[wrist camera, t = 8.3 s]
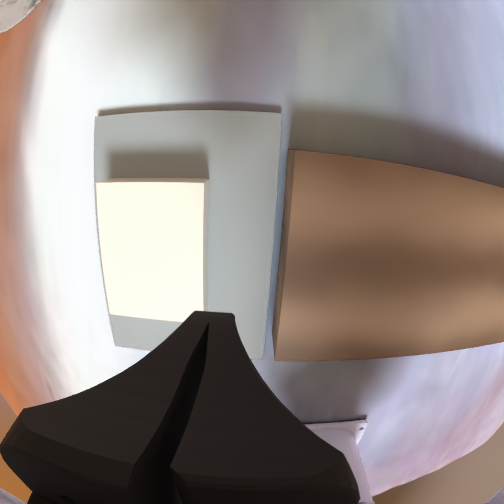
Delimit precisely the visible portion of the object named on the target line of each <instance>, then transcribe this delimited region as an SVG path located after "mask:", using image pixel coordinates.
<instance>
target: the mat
mask: <svg viewBox="0 0 504 504" xmlns="http://www.w3.org/2000/svg"><path fill="white" fill-rule="evenodd" d="M281 126H282V113H271V112H256V111H232V110H177V111H154V112H138V113H126V114H115V115H106V116H98V117H95V129H94V186H95V207H96V222H97V234H98V244H99V253H100V262H101V269H102V277H103V284H104V290H105V296H106V302H107V308H108V313H109V319H110V324H111V329H112V334H113V338H114V343H115V346H119V347H126V348H133V349H140V350H148V351H152V350H153V349H155V348H156V347H157V346H158V345H160V344H161V343H162V342H163V341H164V340H165V339H166V338H167V337H168V336H169V335H170V334H171V333H173V332H174V331H175V330H176V329H177V328H178V327H179V326H180V325H181V324H182V323H183V322H177V321H166V320H156V319H147V318H138V317H129V316H121V315H113V314H110V312H109V306H108V300H107V294H106V288H105V281H104V273H103V266H102V257H101V248H100V238H99V226H98V212H97V193H96V183H97V182H101V181H104V180H108V179H111V178H202V179H210V181H209V218H208V309H207V311H210V312H226V313H233V314H234V315H235V322H236V326H237V330H238V333H239V336H240V338H241V341H242V343H243V345H244V347H245V350H246V352H247V354H248V356H249V358H250V359H258V360H263V354H264V343H265V333H266V322H267V311H268V300H269V289H270V277H271V265H272V253H273V241H274V228H275V215H276V201H277V187H278V173H279V158H280V142H281Z"/></svg>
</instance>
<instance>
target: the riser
mask: <svg viewBox="0 0 504 504" xmlns="http://www.w3.org/2000/svg"><path fill="white" fill-rule="evenodd" d="M272 337H273V347H274V357H275V361H335V360H360V359H377V358H390V357H402V356H412V355H422V354H430V353H438V352H446V351H453V350H460V349H466V348H473V347H479V346H484V345H490V344H495V343H500V342H504V188H502V187H498V186H495V185H491V184H488V183H484V182H480V181H476V180H472V179H469V178H464V177H460V176H456V175H452V174H448V173H443V172H439V171H434V170H429V169H425V168H420V167H414V166H409V165H404V164H398V163H393V162H387V161H381V160H374V159H368V158H361V157H354V156H347V155H339V154H331V153H322V152H312V151H302V150H290V149H288V159H287V173H286V187H285V200H284V212H283V225H282V236H281V248H280V259H279V270H278V280H277V291H276V301H275V311H274V320H273V330H272Z"/></svg>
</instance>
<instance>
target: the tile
mask: <svg viewBox="0 0 504 504" xmlns="http://www.w3.org/2000/svg"><path fill="white" fill-rule="evenodd" d="M209 181H210V179H202V178H111V179H108V180H104V181H101V182H97V183H96V193H97V212H98V226H99V238H100V248H101V257H102V266H103V273H104V281H105V288H106V294H107V300H108V306H109V312H110V314H113V315H121V316H129V317H138V318H147V319H156V320H166V321H177V322H184V321H185V320H186V318H187V317H188V316H189V315H190V314H191V313H192V312H194V311H195V310H196V311H207V309H208V218H209Z"/></svg>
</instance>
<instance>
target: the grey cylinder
mask: <svg viewBox="0 0 504 504" xmlns="http://www.w3.org/2000/svg"><path fill="white" fill-rule="evenodd" d="M41 1H42V0H0V33H2V32H5V31H7V30H9V29H11V28H12V27H14V26H16V25H17V24H18V23H19V22H21V21H22V20H23V19H24V18H25V17H26V16H27V15H28V14H30V13H31V12H32V11H33V10H34V9H35V8H36V6H37V5H38V4H39V3H40V2H41Z"/></svg>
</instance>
